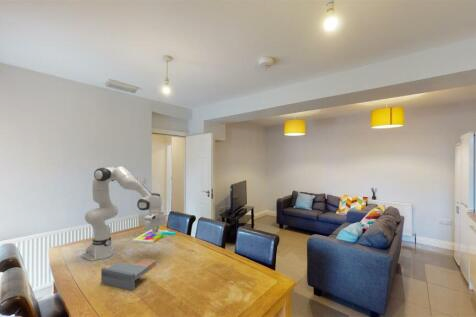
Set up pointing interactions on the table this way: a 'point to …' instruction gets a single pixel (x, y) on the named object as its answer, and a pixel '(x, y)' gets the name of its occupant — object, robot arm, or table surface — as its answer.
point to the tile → (147, 263)
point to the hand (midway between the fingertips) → (155, 232)
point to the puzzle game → (152, 237)
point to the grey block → (122, 275)
